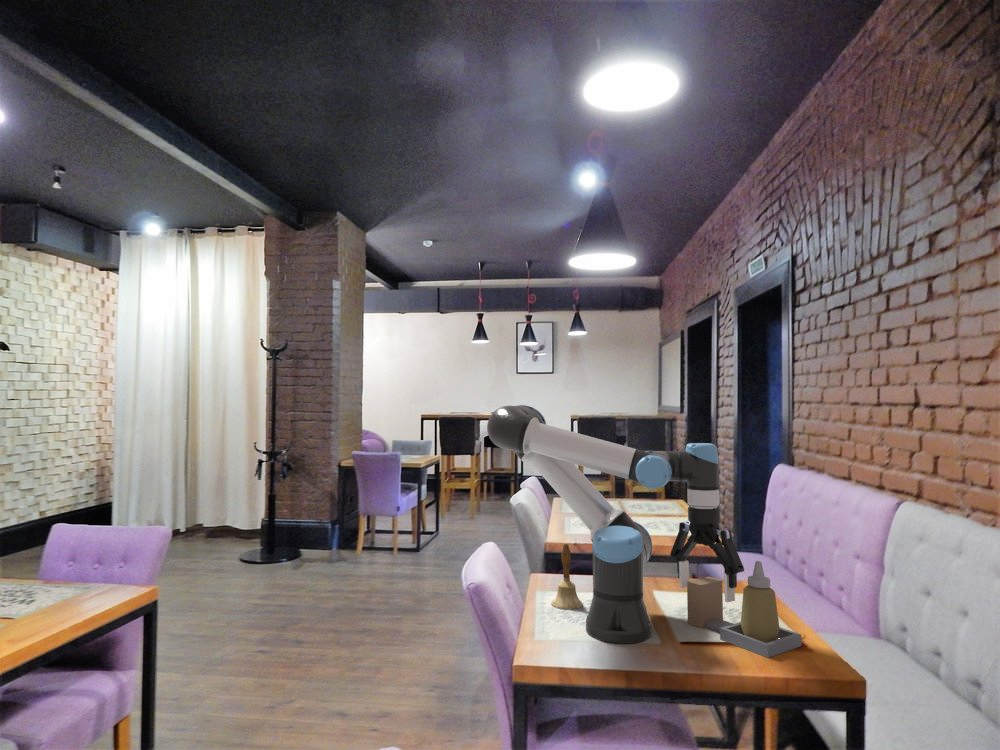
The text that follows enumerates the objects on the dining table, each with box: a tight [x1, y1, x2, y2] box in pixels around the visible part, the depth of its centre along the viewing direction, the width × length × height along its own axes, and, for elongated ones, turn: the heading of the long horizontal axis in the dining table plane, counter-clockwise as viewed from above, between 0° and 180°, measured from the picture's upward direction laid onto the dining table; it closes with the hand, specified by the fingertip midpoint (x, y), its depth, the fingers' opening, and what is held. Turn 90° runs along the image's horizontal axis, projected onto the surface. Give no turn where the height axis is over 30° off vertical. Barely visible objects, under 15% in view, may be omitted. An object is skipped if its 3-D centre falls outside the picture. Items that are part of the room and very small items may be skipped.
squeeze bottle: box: [740, 560, 780, 643], centre depth 136 cm, size 8×8×18 cm
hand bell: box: [551, 543, 584, 610], centre depth 162 cm, size 8×8×16 cm
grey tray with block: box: [686, 576, 802, 659], centre depth 140 cm, size 23×12×10 cm, turn 32°
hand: (706, 594), depth 148 cm, fingers open, 13 cm apart
